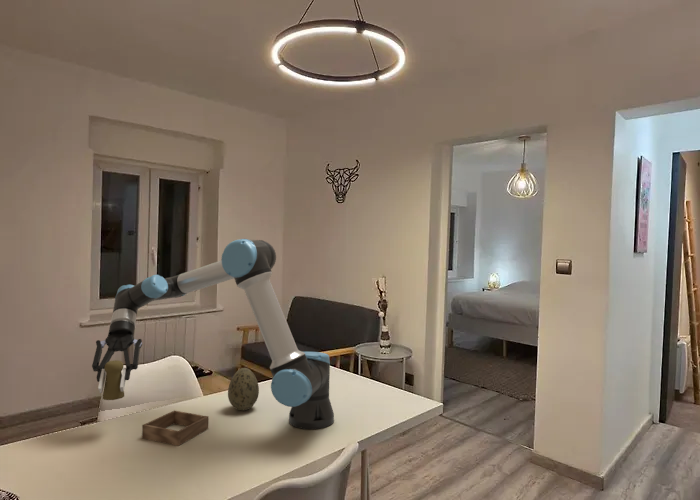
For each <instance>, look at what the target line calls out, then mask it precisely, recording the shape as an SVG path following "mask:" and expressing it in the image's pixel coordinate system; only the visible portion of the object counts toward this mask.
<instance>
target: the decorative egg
mask: <svg viewBox="0 0 700 500" xmlns="http://www.w3.org/2000/svg"><path fill="white" fill-rule="evenodd" d="M229 382H230V383H229V385H228V389H227V397H228V401H229V403H230V405H231V406H232V407H233V408H234V409H235V410H238V411H247V410H249V409H251V408H252V407H253V406H254V405H255V404H256V403H257V400H258V398H259V394H260V387H259V386H260V385H259V382H258V380H257V378H256V375H255V374H254V372H253V371H252V370H251V369H250V368H247V367H242V368H239V369H238V370H237V371H236V372H235V373H234V374H233V375H232V377H231V379H230V381H229Z"/></svg>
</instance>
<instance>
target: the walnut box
mask: <svg viewBox="0 0 700 500" xmlns="http://www.w3.org/2000/svg"><path fill="white" fill-rule="evenodd" d="M173 425H180V426H184V427H183V428H180V429H179V430H176V429H171V428H170V427H171V426H173ZM207 430H209V416H208V415H202V414H197V413H190V412H186V411H181V410H175V409H174V410H173V411H170V412H168V413H166V414H164V415H161V416H159V417H157V418H155V419H153V420H151V421H148V422H146V423H144V424H142V431H141V432H142V433H141V434H142V435H141V438H142V439H144V440H149V441H153V442H158V443H163V444H167V445H173V446H177V447H179V446H181V445H182V444H185V443H186V442H188V441H190V440H192V439H193V438H195V437H197V436H199V435H200V434H202V433H205V432H206V431H207Z"/></svg>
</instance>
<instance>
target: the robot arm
mask: <svg viewBox="0 0 700 500" xmlns="http://www.w3.org/2000/svg"><path fill="white" fill-rule="evenodd" d="M276 262H277V253H276V250H275V248H274V246H273V245H272V244H270V243H269V242H267V241H265V240H262V239H247V238H240V239H235V240H233V241H231V242H229V243H228V244H227V245H226V246H225V248H224V250H223V251H222V254H221V260H219V261H215V262H212V263H210V264H207V265H206V264H205V265H204V266H201V267H198V268H195V269H192V270H191V269H190V270H188V271H186V272H182V273H180V274H177V275H174V276H170V277H165V278H164V277H163V276H162V275H160V274H153V275H151V276H149V277H145V279H144V280H142V281H139V282H138V283H137V284H134V285H133V284H126V285H125V284H124V285H121V286H120V287H119V288H118V289H117V292H116V295H115V297H114V304H113V309H112V316H111V319H110V325H109V328H108V333H107V337H106V338H105V339H104V340H99V339H98V340H96V341H95V344H96V349H95V353H94V357H93V361H92V365H91V367H92V370H93V372H97V374H96V381H97V382H98V386H97V390H98V392H99V394H103V391H104V385H105V379H106V371H105V369H104V367H105V364H106V363H107V362H109V361H111V358H112V356H114V354H115V352H122V353H123V357H124V362H125V367H123V370H122V371H121V372H122V378H121V384H120V390H121V392H123V391H124V392H125V386H126V381H129V380H130V378H131V371H133V370H138V368H139V358H140V350H141V348H142V346H143V340H142V338H138V339H135V337H134V335H135V329H136V328H135V326H136V322H137V316H138V310H139V309H140V308H143V307H144V306H146V305H148V304H149V303H152V302H154V301H162V300H167V299H173V298H174V299H176V298H181V297H183V296H186V295H187V294H190V293H193V292H195V291H200V290H203V289H204V288H205V289H206V288H209V287H211V286H215V285H217V284H220V283H224V282H227V281H230V280H234V282H235V284H236V287H238V288H240V289H242V290H243V291H244V293H245V296H246V298H247V300H248V303H249V305H250V308H251V311H252V314H253V315H254V318H255V319H254V320H255V321H256V323H257V326H258V329H259V331H260V333H261V336H262V338H263V340H264V343H265V346H266V348H267V351H268V354H269V356H270V359H271V363H270V365H269V369H270V370H269V371H270V372H271V376H272V378H271V383H270V389H271V394H272V396H273V397H274V399H275V400H276V401H277V402H278V403H279V404H281V405H283V406H284V407H285V406H286V407H290V411H289V415H288V423H289V424H290V425H291V426H293V427H294V428H299V429H305V430H316V429H317V430H318V429H323V428H326V427H329V426H331V425H333V423H334V421H335V414H334V409H333V406H332V403H331V400H330V378H331V377H330V372H331V369H330V368H331V361H330V355H329V354H328V353H325V352H318V351H302V350H299V349H298V346H297V344H296V342H295V339H294V337H293V334H292V332H291V329H290V326H289V324H288V321H287V320H286V316H285V313H284V312H283V309H282V307H281V304H280V302H279V299H278V296H277V294H276V292H275V289H274V287H273V285H272V284H273V283H272V281H271V277H272V275H273V272H272V269H273V268H274V266H275V264H276ZM105 345H106V346H107V350H106V352H105V354H104V356H103V357H102V353H103V349H104V348H105ZM132 345H133V346H134V350H133V357H132V358H133V359H132V363H131V362H130V360H131V359H130V357H129V348H130V347H131V346H132ZM101 357H102V360H101Z"/></svg>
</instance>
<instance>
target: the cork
mask: <svg viewBox="0 0 700 500" xmlns="http://www.w3.org/2000/svg"><path fill="white" fill-rule="evenodd" d="M123 368H124V363H123V361H121V360H115V359H114V360H110V361H109V362H107V363H106V364H105V367H104V369H105V372H106V376H105V381H104V386H103V391H102V397H101V398H102V400H104V401H115V400H120V399H123V398H124V397H125V390H124V391H123V392H121V390H120V384H121V378H122V372H123Z"/></svg>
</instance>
